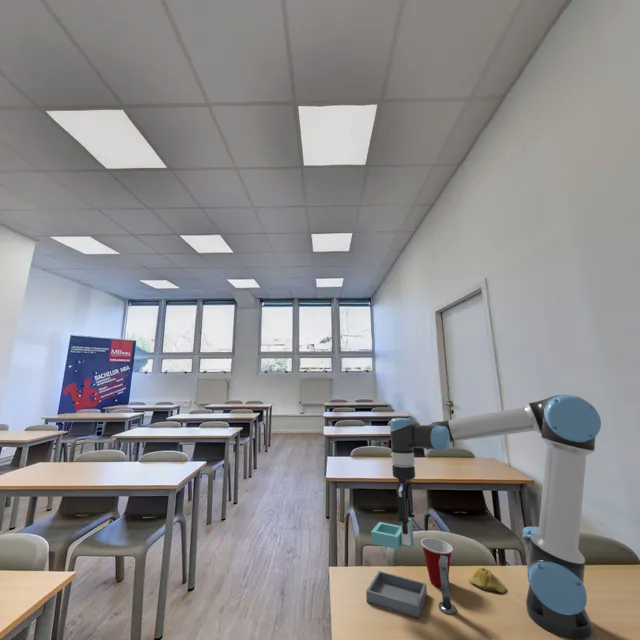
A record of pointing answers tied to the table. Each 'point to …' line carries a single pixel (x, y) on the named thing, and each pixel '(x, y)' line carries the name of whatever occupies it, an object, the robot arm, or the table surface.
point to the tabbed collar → (390, 535)
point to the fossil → (486, 580)
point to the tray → (397, 594)
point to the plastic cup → (435, 557)
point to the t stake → (445, 588)
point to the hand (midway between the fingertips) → (407, 541)
